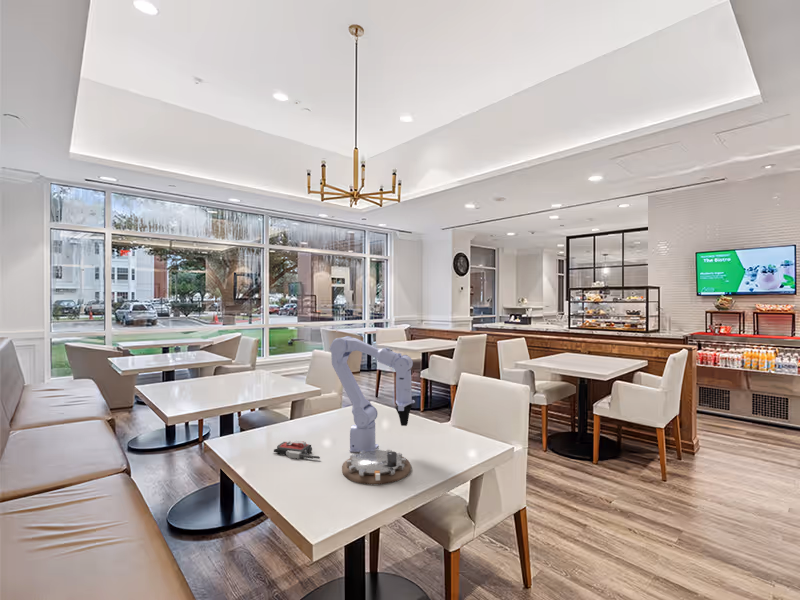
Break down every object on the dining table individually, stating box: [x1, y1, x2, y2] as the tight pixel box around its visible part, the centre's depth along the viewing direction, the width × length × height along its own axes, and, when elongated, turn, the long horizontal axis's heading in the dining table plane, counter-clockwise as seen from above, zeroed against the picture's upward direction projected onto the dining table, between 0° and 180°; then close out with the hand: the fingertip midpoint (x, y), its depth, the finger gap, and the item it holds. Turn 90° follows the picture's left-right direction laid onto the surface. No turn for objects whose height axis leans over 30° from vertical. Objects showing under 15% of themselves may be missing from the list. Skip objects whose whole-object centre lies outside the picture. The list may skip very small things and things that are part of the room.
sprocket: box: [346, 448, 407, 477], centre depth 135 cm, size 20×20×6 cm
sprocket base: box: [341, 456, 412, 486], centre depth 135 cm, size 23×23×3 cm
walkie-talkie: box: [273, 440, 321, 460], centre depth 148 cm, size 9×4×20 cm
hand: (404, 425), depth 149 cm, fingers closed
